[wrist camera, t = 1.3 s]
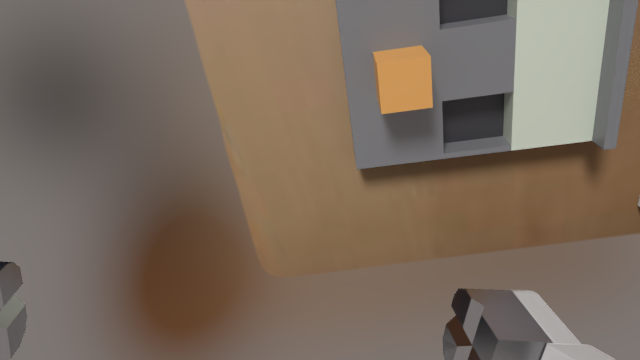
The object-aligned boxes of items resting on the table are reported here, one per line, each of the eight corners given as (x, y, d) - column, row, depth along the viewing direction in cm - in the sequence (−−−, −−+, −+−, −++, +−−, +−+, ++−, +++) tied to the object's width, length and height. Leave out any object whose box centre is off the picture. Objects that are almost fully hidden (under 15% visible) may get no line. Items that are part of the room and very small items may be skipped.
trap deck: (615, -76, 36) (650, -78, 32) (589, 129, 44) (615, 148, 40) (332, -31, 38) (331, -27, 34) (355, 158, 46) (357, 179, 42)
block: (421, 45, 38) (430, 56, 35) (424, 92, 40) (432, 107, 36) (372, 52, 38) (376, 63, 35) (377, 98, 40) (381, 114, 37)
